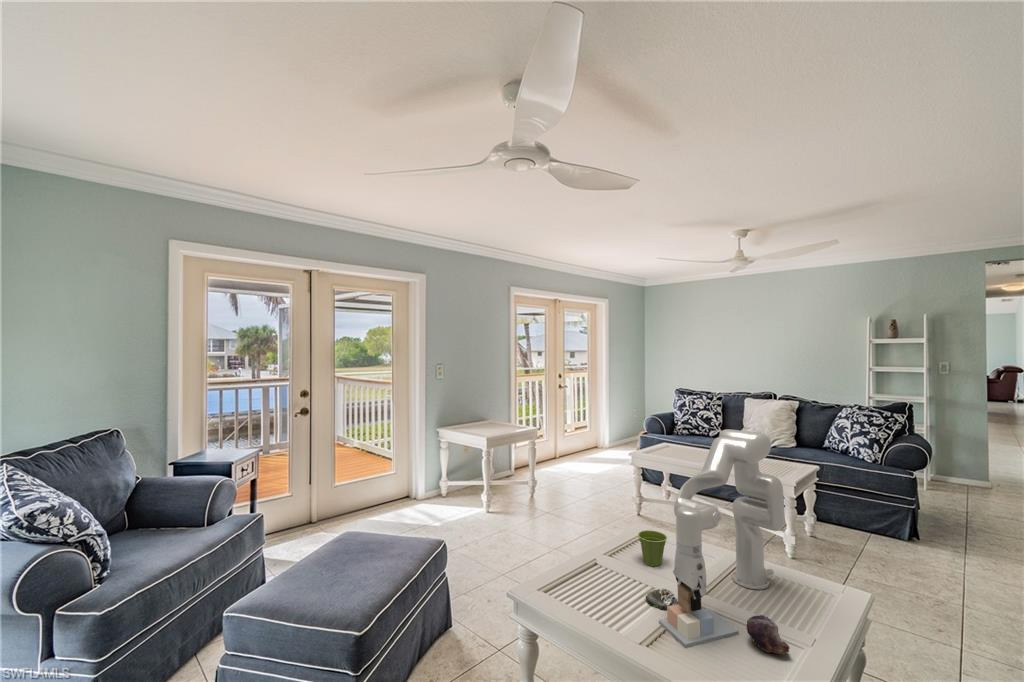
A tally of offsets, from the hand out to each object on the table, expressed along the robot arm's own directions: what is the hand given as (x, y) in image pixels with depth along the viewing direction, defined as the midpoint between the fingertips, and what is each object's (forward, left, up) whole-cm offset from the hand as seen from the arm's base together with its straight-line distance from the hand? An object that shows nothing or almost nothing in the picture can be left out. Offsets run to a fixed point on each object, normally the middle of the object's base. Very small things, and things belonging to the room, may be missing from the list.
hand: (689, 604), depth 145 cm
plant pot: (-16, -43, -8) cm, 46 cm away
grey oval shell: (-2, -17, -9) cm, 19 cm away
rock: (-16, +14, -8) cm, 23 cm away
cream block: (+2, +2, -7) cm, 8 cm away
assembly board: (-3, 0, -8) cm, 9 cm away
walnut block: (0, 0, -1) cm, 1 cm away
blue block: (-3, +2, -7) cm, 8 cm away
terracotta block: (+2, -3, -7) cm, 8 cm away
